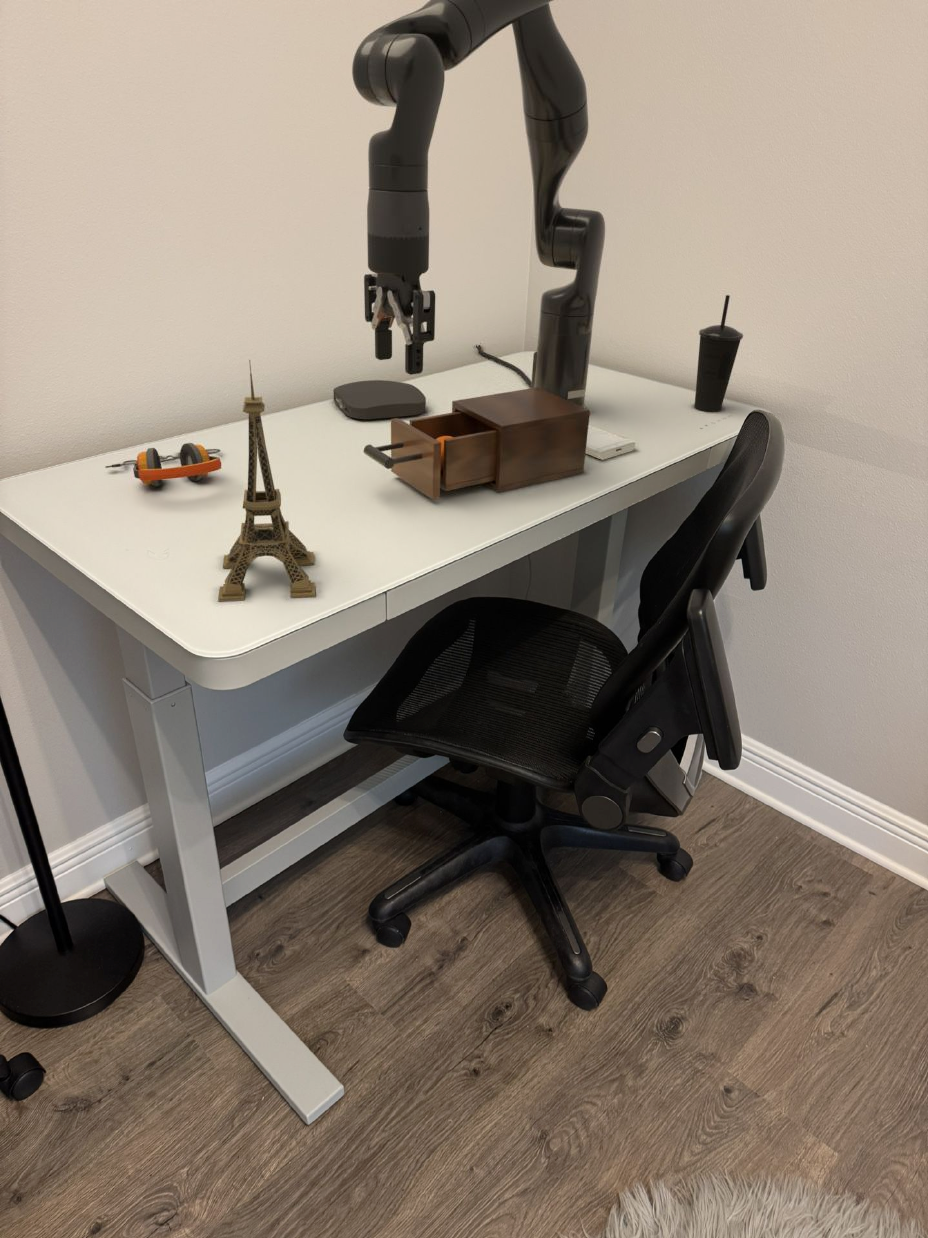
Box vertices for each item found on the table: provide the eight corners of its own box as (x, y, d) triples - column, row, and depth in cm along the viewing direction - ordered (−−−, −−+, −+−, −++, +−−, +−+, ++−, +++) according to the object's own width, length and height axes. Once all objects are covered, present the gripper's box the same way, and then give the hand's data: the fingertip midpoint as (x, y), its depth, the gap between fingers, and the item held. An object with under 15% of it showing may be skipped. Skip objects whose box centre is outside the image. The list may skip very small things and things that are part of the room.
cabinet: (498, 492, 128) (502, 426, 123) (450, 463, 137) (452, 400, 132) (583, 473, 135) (590, 409, 130) (532, 447, 144) (537, 387, 139)
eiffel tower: (313, 554, 109) (301, 346, 96) (315, 596, 100) (302, 373, 87) (224, 557, 107) (200, 346, 94) (218, 601, 98) (190, 374, 85)
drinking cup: (734, 406, 167) (756, 295, 157) (721, 416, 161) (742, 301, 151) (695, 399, 170) (713, 289, 160) (680, 408, 165) (699, 295, 155)
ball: (422, 467, 129) (422, 434, 127) (451, 461, 132) (451, 428, 129) (440, 479, 126) (441, 445, 123) (469, 472, 128) (471, 439, 125)
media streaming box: (432, 415, 156) (432, 398, 155) (351, 423, 151) (351, 405, 150) (404, 391, 168) (404, 375, 166) (328, 398, 163) (327, 381, 161)
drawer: (395, 507, 119) (395, 451, 115) (355, 478, 128) (353, 425, 124) (518, 480, 129) (522, 427, 125) (473, 454, 138) (475, 404, 134)
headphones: (213, 430, 138) (245, 442, 121) (219, 465, 139) (251, 481, 122) (98, 445, 131) (115, 460, 114) (105, 481, 132) (123, 501, 115)
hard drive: (545, 429, 147) (602, 450, 139) (579, 420, 152) (636, 440, 144) (544, 439, 148) (601, 460, 140) (578, 429, 153) (634, 450, 145)
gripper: (456, 236, 105) (452, 376, 113) (395, 221, 115) (396, 350, 123) (401, 239, 101) (400, 383, 110) (343, 223, 111) (347, 356, 120)
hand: (398, 365), depth 117 cm, fingers open, 7 cm apart
